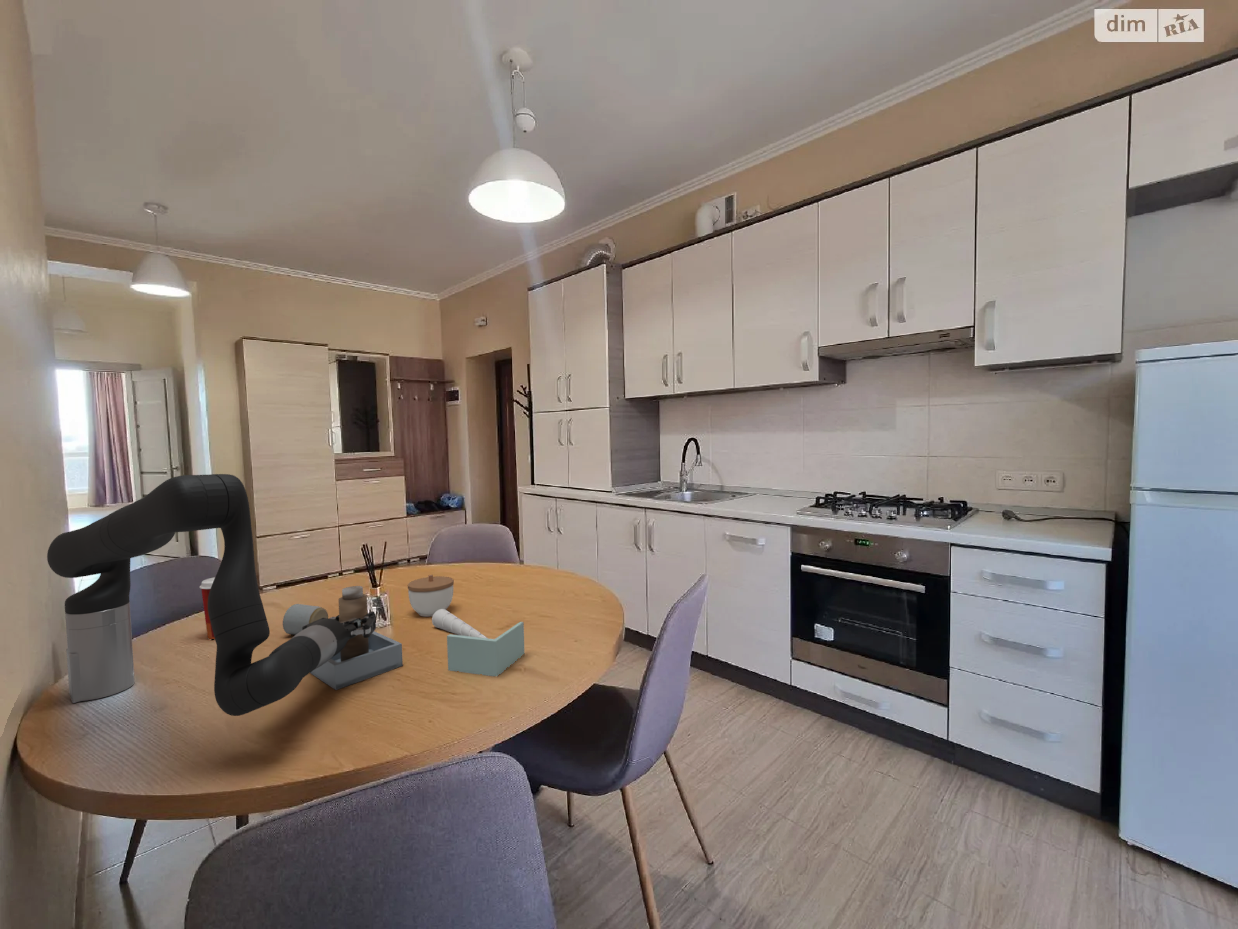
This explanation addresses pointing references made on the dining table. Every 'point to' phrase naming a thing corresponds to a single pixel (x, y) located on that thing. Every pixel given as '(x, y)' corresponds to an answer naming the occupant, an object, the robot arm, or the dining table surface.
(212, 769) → the dining table surface
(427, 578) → the lidded bowl
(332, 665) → the bin
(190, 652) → the dining table surface
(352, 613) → the pepper mill
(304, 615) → the ceramic mug
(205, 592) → the coffee cup
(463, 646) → the right angle wall
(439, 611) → the unicorn horn
